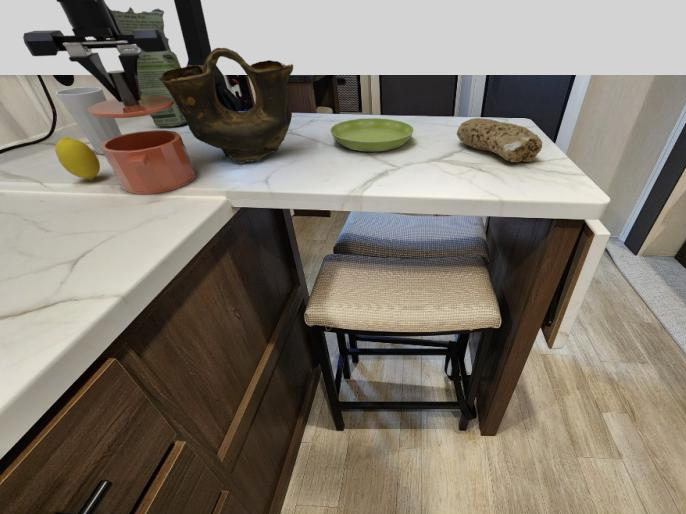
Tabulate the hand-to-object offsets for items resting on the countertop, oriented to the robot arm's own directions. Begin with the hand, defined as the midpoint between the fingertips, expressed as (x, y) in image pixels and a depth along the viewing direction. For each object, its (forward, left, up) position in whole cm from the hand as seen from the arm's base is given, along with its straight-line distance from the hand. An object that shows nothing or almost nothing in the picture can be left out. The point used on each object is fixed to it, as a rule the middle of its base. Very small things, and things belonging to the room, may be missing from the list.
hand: (130, 100), depth 61 cm
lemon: (+13, +1, -13) cm, 18 cm away
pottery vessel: (-18, -2, -13) cm, 22 cm away
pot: (0, +6, -13) cm, 14 cm away
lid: (0, 0, -1) cm, 1 cm away
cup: (+13, -18, -13) cm, 26 cm away
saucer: (-47, -2, -13) cm, 49 cm away
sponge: (-72, +15, -13) cm, 75 cm away
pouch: (+1, -38, -13) cm, 40 cm away
